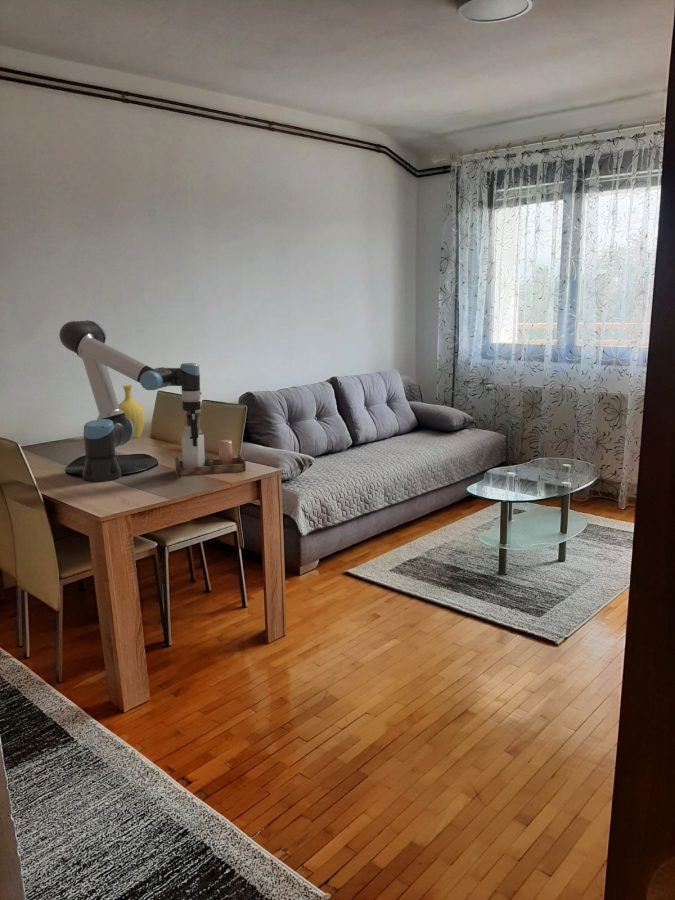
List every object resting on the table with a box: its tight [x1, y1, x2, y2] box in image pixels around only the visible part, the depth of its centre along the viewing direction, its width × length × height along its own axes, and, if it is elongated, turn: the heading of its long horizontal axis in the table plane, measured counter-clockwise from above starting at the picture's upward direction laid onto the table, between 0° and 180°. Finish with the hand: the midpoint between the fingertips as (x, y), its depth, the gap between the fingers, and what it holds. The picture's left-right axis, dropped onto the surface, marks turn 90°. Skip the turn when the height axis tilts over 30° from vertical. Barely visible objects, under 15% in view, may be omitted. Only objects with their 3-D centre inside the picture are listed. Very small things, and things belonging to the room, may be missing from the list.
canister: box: [218, 439, 233, 465], centre depth 284 cm, size 6×6×12 cm
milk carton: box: [180, 425, 206, 468], centre depth 279 cm, size 7×7×19 cm
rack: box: [174, 452, 247, 479], centre depth 283 cm, size 28×14×6 cm, turn 107°
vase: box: [118, 384, 146, 440], centre depth 358 cm, size 16×16×28 cm
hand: (193, 450), depth 279 cm, fingers open, 13 cm apart
